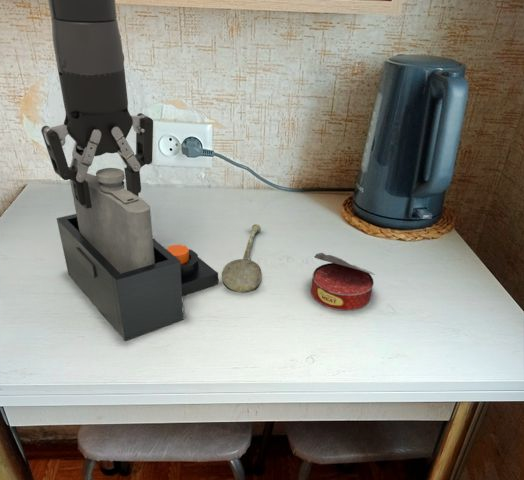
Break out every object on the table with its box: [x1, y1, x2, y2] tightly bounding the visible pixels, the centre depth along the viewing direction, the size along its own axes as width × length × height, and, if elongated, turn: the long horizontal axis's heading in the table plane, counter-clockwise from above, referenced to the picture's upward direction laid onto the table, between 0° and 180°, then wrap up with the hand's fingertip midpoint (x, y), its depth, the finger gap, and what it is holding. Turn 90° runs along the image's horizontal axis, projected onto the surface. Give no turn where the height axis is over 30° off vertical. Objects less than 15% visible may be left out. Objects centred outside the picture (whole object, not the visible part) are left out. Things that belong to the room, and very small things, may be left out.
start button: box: [166, 244, 189, 264], centre depth 82 cm, size 4×4×2 cm
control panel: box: [180, 248, 219, 297], centre depth 83 cm, size 9×10×4 cm
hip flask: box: [69, 167, 155, 274], centre depth 73 cm, size 16×4×20 cm, turn 47°
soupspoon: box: [221, 223, 263, 293], centre depth 90 cm, size 22×3×7 cm
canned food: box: [310, 252, 376, 312], centre depth 82 cm, size 11×10×10 cm
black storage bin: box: [56, 213, 184, 342], centre depth 76 cm, size 10×21×10 cm, turn 37°
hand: (110, 200), depth 70 cm, fingers open, 6 cm apart
